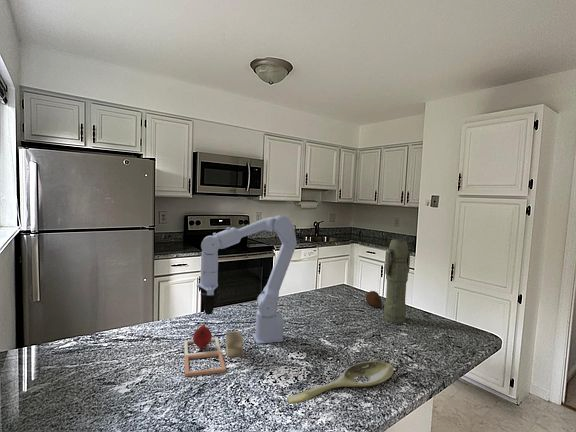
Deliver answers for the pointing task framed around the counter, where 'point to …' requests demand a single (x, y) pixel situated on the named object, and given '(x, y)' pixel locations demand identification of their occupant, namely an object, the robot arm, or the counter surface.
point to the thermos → (396, 280)
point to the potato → (373, 299)
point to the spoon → (350, 379)
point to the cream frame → (201, 352)
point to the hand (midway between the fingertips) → (207, 310)
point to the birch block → (234, 343)
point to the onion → (202, 336)
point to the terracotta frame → (208, 371)
